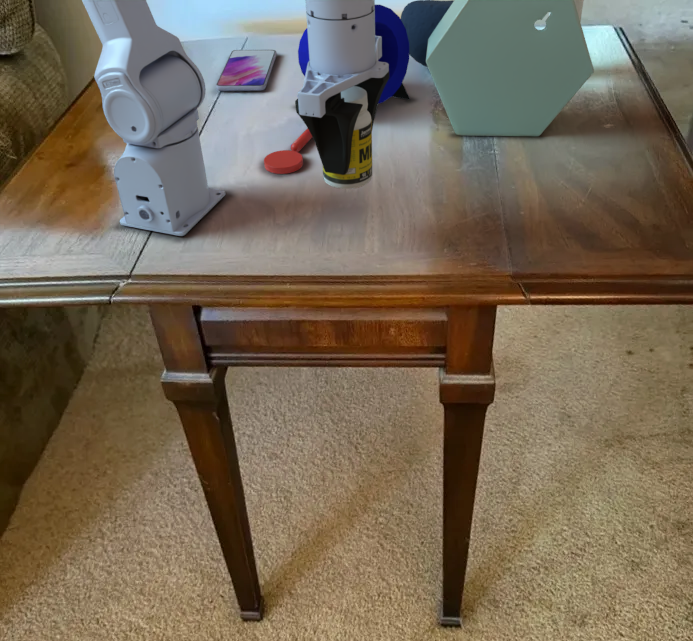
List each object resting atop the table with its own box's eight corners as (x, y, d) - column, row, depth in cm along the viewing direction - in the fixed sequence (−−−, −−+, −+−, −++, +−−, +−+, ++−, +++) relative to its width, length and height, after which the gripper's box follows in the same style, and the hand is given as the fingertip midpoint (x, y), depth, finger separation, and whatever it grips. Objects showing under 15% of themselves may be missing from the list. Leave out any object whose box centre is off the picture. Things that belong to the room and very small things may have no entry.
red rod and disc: (293, 176, 88) (292, 167, 88) (257, 171, 90) (256, 161, 89) (336, 128, 98) (336, 119, 97) (304, 124, 100) (303, 115, 99)
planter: (508, 143, 103) (618, 9, 91) (511, 170, 97) (629, 30, 85) (403, 75, 99) (504, -75, 87) (399, 98, 93) (507, -59, 81)
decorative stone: (492, 75, 110) (498, 3, 104) (413, 86, 108) (414, 13, 102) (464, 48, 119) (468, -19, 113) (390, 58, 117) (390, -11, 111)
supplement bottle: (367, 192, 71) (365, 105, 66) (318, 188, 72) (312, 103, 66) (376, 168, 74) (375, 84, 69) (329, 165, 75) (324, 82, 70)
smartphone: (277, 49, 120) (264, 86, 108) (277, 54, 120) (265, 92, 109) (231, 49, 120) (214, 86, 108) (232, 55, 121) (214, 92, 109)
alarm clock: (347, 129, 98) (341, 8, 88) (288, 103, 105) (277, -12, 96) (414, 101, 104) (415, -15, 94) (354, 78, 111) (350, -32, 102)
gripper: (353, 42, 57) (358, 202, 65) (413, -12, 67) (411, 132, 76) (268, 34, 59) (284, 190, 68) (339, -17, 69) (345, 123, 78)
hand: (346, 159), depth 72 cm, fingers closed on supplement bottle, 5 cm apart
